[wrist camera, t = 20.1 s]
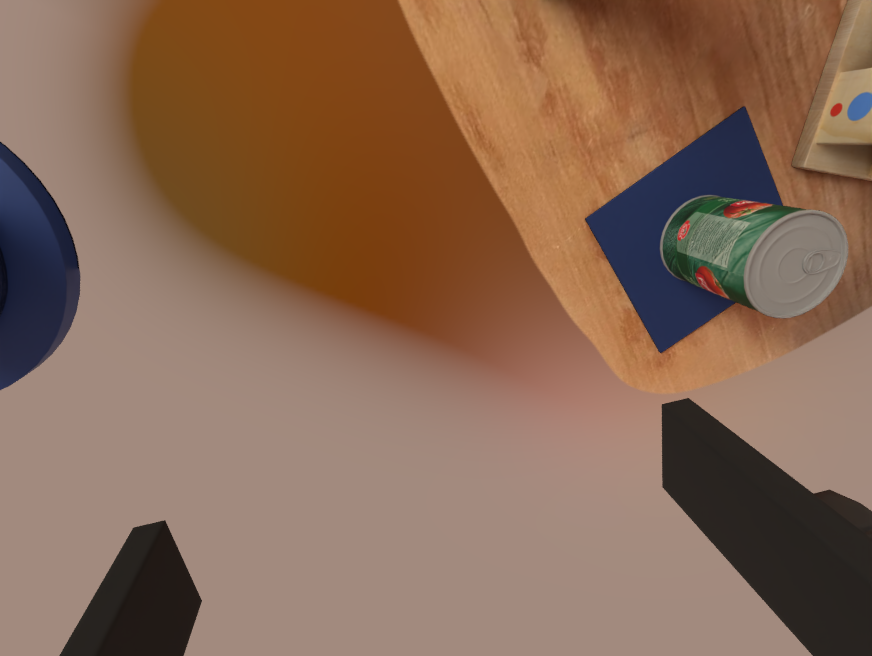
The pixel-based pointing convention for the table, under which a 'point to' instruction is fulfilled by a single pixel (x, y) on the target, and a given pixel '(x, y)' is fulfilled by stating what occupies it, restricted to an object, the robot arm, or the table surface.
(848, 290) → the table surface
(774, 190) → the cloth
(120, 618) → the robot arm
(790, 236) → the canned tomato
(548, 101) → the table surface
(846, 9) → the pounding bench toy
